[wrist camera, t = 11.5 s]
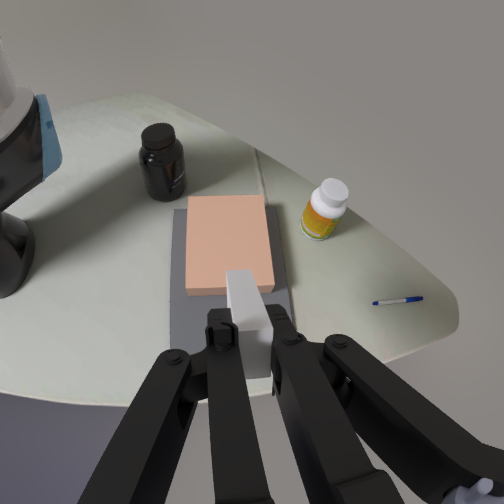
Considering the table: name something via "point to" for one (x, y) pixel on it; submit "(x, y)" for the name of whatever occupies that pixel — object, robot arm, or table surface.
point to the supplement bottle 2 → (324, 209)
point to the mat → (197, 307)
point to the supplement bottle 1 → (162, 162)
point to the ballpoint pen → (398, 301)
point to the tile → (226, 243)
